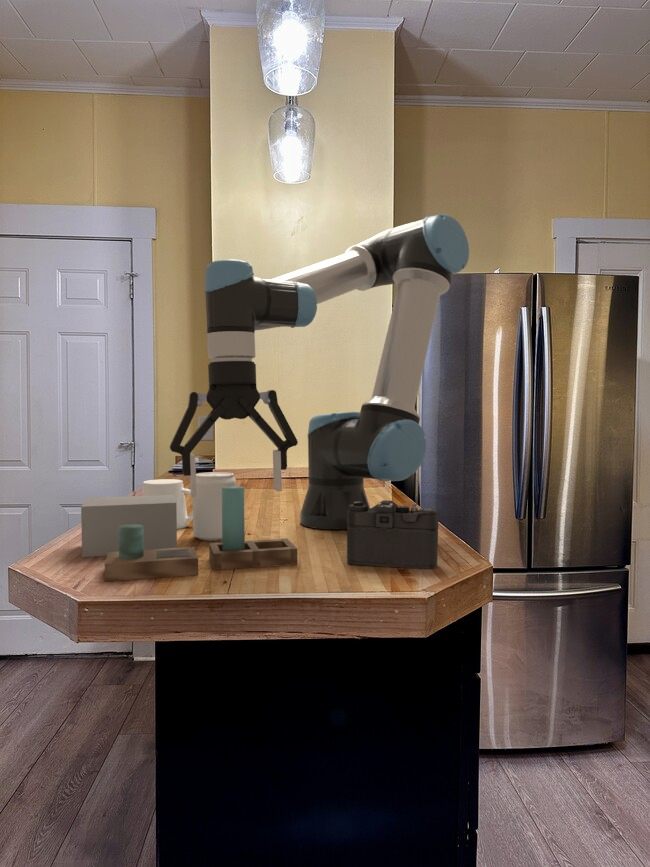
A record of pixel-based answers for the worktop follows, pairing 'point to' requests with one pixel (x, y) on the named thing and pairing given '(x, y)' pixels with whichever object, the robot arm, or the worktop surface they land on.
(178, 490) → the mug
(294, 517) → the worktop surface
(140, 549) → the board
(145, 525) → the cover
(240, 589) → the worktop surface
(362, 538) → the camera
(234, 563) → the board
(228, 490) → the pin
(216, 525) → the beverage can
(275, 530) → the worktop surface
